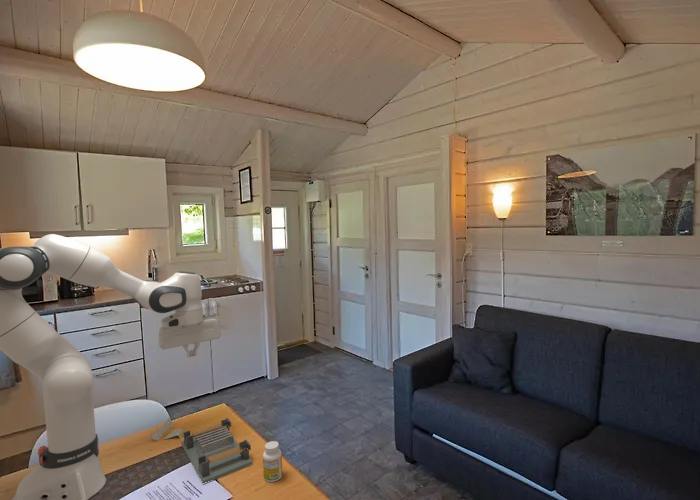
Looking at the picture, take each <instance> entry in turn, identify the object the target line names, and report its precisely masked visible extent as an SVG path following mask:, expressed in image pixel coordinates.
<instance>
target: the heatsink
mask: <svg viewBox="0 0 700 500" xmlns="http://www.w3.org/2000/svg"><path fill="white" fill-rule="evenodd" d="M233 438H234V435H233V434H232V432H231V431H228V429H227V427H224V428H221V429H218V430H215V431H212V432H209V433H206V434H203V435H200V436H197V437H196V452H197V454H198V455H199V457H200V456H203V455H205V456H206V461H208V457H210V456H213V455H216V454H218V453H221V452H224V451H227V450H230V449H232V448H234V440H233Z"/></svg>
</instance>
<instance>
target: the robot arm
mask: <svg viewBox="0 0 700 500" xmlns="http://www.w3.org/2000/svg"><path fill="white" fill-rule="evenodd" d="M44 274H51V275H54V276H56V277H57V276H58V277H59V278H63V279H65V280H67V281H70V282H73V283H76V284H79V285H83V286H87V287H91V288H92V287H93V288H95V287H97V288H98V287H103V288H109V289H113V290H115V291H117V292H119V293H122V294H124V295H127V296H129V297H131V298H132V299H133V300H135V302H136V303H137V304H138V305H139V306H140V307H141V308H142V309H146V310H150V311H152V312H154V313H158V314H166V313H167V314H168V313H169V312H174V313H171V314H170V315H167V316H166V317H163V318H162V319H161V320H160V321H161V327H160V328H159V332H158V347H159V348H160V349H161V350H167V349H172V348H173V349H174V348H178V347H183V349H184V351H185V352H186V357H187V358H190V357H195V356H197V355H198V354H197V353H198V352H197V351H198V349H199V348H200V343H203V342H207V341H214V340H219V339H220V338H221V336H222V335H221V328H220V326H221V325H220V324H221V323H220V322H221V317H220V315H219V314H217V313H210V314H204V310H203V308H204V306H203V305H202V295H203V293H202V292H203V291H202V284H201V283H202V282H201V279H200V276H199V274H197V273H196V272H192V271H185V270H183V271H182V270H180V271H175V273H174V274H173V275H171V276H170V277H169V278H167V279H166V280H163V281H162V282H160V281H157V280H146V279H145V280H144V279H140V278H137V276H136V277H135V276H133V275H132V274H129V273H127V272H125V271H123V270H121V269H119V268H118V267H117V266H116V265H115V263H114V262H113V260H112V258H110V257H109V256H108V255H106V253H104V252H101V250H98V249H96V248H95V247H92V246H90V245H88V244H87V243H84V242H81V241H78V240H76V239H72V238H70V237H67V236H63V235H60V234H56V233H50V234H46V235H43V236H42V237H40V238H39V239H38V240H37V241H35V243H34V245H31V246H8V247H2V248H0V351H1V352H2V353H4V354H5V355H6V356H7V357H8V358H9V359H10V360H11V361H12V362H14V364H17V365H20V366H21V367H23V368H24V369H26V370H27V371H29V372H30V373H32V374H33V375H34V376H36V377H37V378H38V379H39V380H40V381H41V383H42V395H43V397H42V399H43V408H44V409H43V410H44V419H45V429H46V439H47V441H46V442H47V446H46V445H41V446H39V448H38V449H37V455H38V461H39V462H38V463H39V464H38V465H37V466H35V467H34V468H33V469H32V470H31V471H30V472H28V473H27V474H26V475H25V476H24V477H23V478H22V479H21V481H20V482H19V484H18V486H17V488H16V492H15V495H14V496H13V497H12V498H11V499H10V500H89V499H90V498H92V497H93V496H94V495H96V494H97V493H98V492H100V491H101V490H102V489H103V487H104V486H105V485H106V482H107V478H106V476H105V474H104V472H103V469H102V466H101V460H100V459H99V457H100V456H99V455H100V454H99V453H100V441H99V437H98V434H97V432H96V420H95V393H94V391H95V389H94V387H95V385H94V374H93V371H92V368H91V366H90V363H89V360H88V359H87V357H86V356H85V355H84V354H83V353H82V352H81V351H80V350H78V349H77V348H76V347H75V346H74V345H73V344H72V343H70V342H69V341H68V340H67V339H66V338H64V337H63V336H62V335H61V334H60V333H59V332H57V330H55V329H54V328H53V327H52V326H51V325H50V324H49V323H48V322H47V321H46V320H45V319H44V318H43V317H42V316H41V315H40V314H39V313H38V311H36V310H35V309H34V308H33V307H32V306H30V304H29V303H28V302H27V301H26V300H25V298H24V297H23V294H22V293H23V292H22V291H23V288H25V287H28V286H30V285H32V284H33V283H35V282H36V281H37V280H38V279H39V278H40V277H42V276H43V275H44ZM192 344H193V345H194V347H193V349H191V350H189V349H188V348H189V346H190V345H192Z"/></svg>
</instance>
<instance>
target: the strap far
mask: <svg viewBox="0 0 700 500" xmlns="http://www.w3.org/2000/svg"><path fill="white" fill-rule="evenodd" d="M227 425H228V421H227V420H226V418H225V419H221V421H220V423H218V424H214V425H212V426H209V427H205V428H203V429H200V430H197V431H192V432H191V435H193V438H195V437H197V436H200V435H203V434H206V433H209V432H212V431H215V430H218V429H221V428H224V427H227Z"/></svg>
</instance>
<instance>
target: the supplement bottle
mask: <svg viewBox="0 0 700 500" xmlns="http://www.w3.org/2000/svg"><path fill="white" fill-rule="evenodd" d="M279 445H280V444H279V442H278V441H275V440H274V441H273V440H271V441H269V442H267V443H265V445H264V452H263V454H262V464H263V465H262V467H263V478H264V481H265V482H268V483H274V482H277V481H279V480H281V478H282V477H283V460H282V459H283V458H282V457H283V455H282V450H281V449H280V446H279Z"/></svg>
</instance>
